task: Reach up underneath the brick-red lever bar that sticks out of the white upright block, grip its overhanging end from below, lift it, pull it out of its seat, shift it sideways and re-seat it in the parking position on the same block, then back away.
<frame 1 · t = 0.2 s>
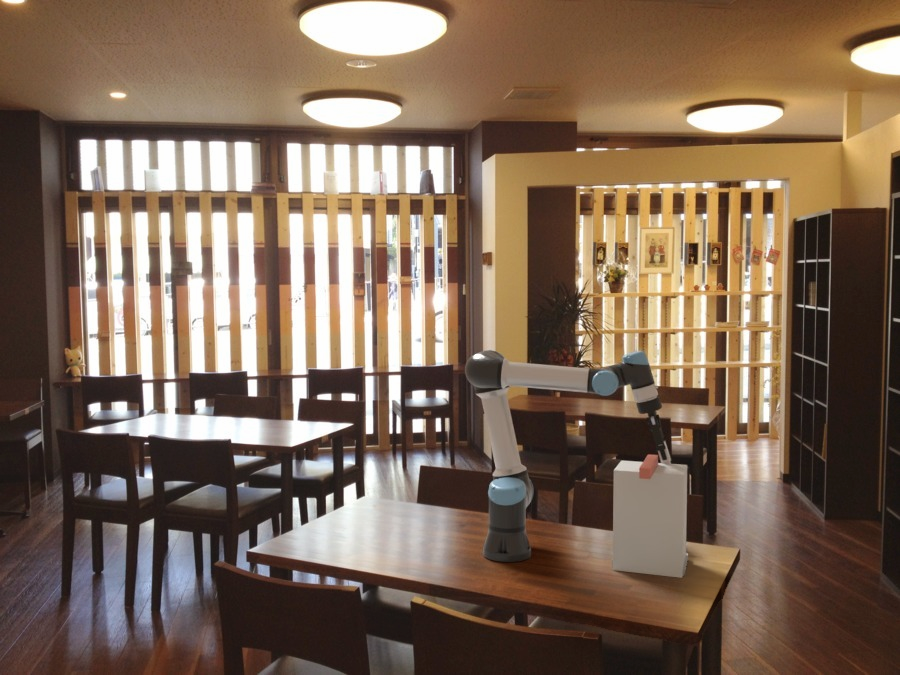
hand: (667, 465, 254), 28 cm above the table, tool tilted 15°, fingers open, 11 cm apart
white upright block: (649, 565, 243), on the table
lever bar: (649, 471, 236), point 30 cm above the table, touching white upright block
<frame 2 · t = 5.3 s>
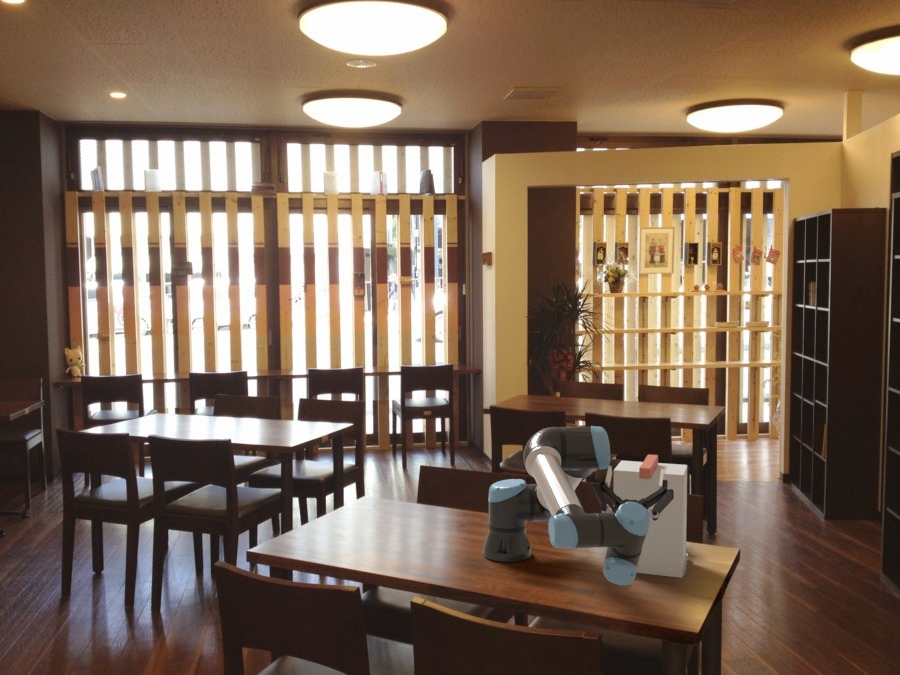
hand: (636, 471, 212), 35 cm above the table, tool pointing upward, fingers open, 13 cm apart
nothing on the table moved.
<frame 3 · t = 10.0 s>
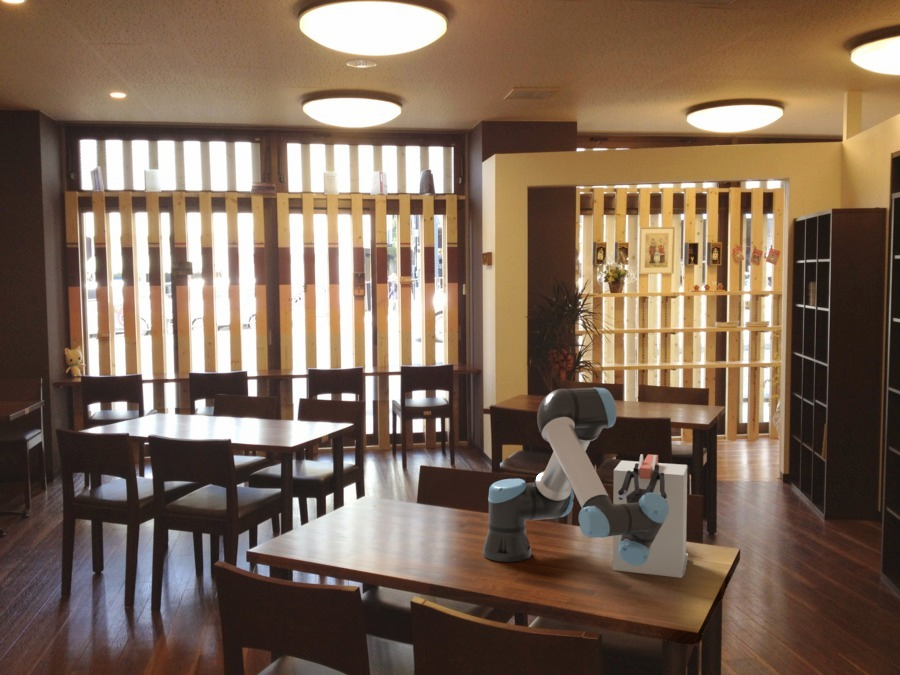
hand: (648, 458, 234), 34 cm above the table, tool pointing upward, fingers closed on lever bar, 3 cm apart
lever bar: (649, 471, 236), point 30 cm above the table, touching gripper, white upright block
everything else where it was.
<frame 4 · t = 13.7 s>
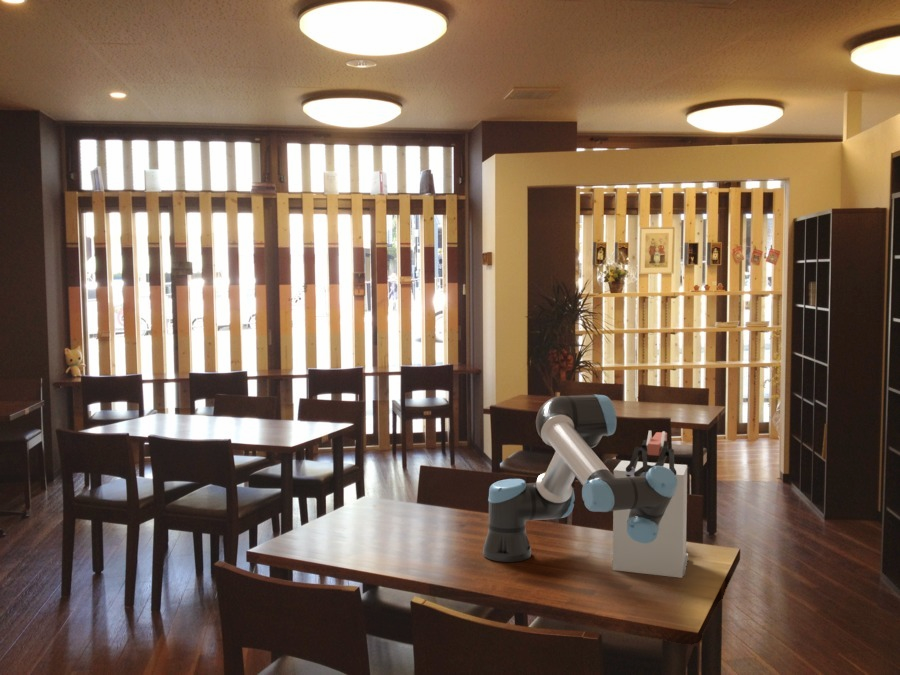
hand: (657, 434, 225), 43 cm above the table, tool pointing upward, fingers closed on lever bar, 3 cm apart
lever bar: (657, 448, 227), point 38 cm above the table, touching gripper
everything else where it was.
when the fingers open (36 cm above the table, at t = 17.7 s): lever bar drops 1 cm, resting on white upright block.
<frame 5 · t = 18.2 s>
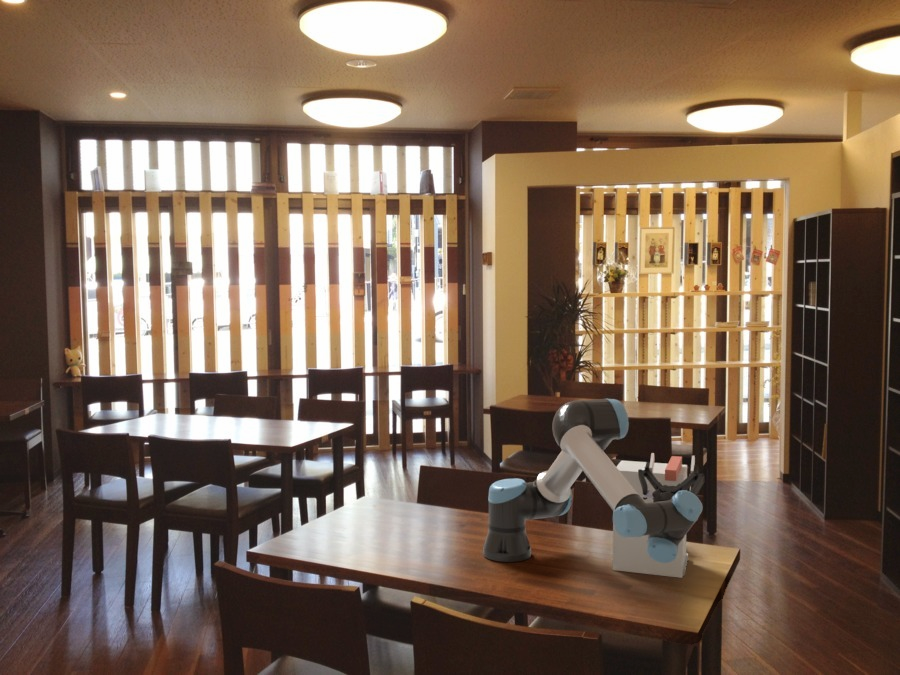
hand: (673, 457, 230), 35 cm above the table, tool pointing upward, fingers open, 10 cm apart
lever bar: (673, 473, 234), point 30 cm above the table, touching white upright block
everything else where it was.
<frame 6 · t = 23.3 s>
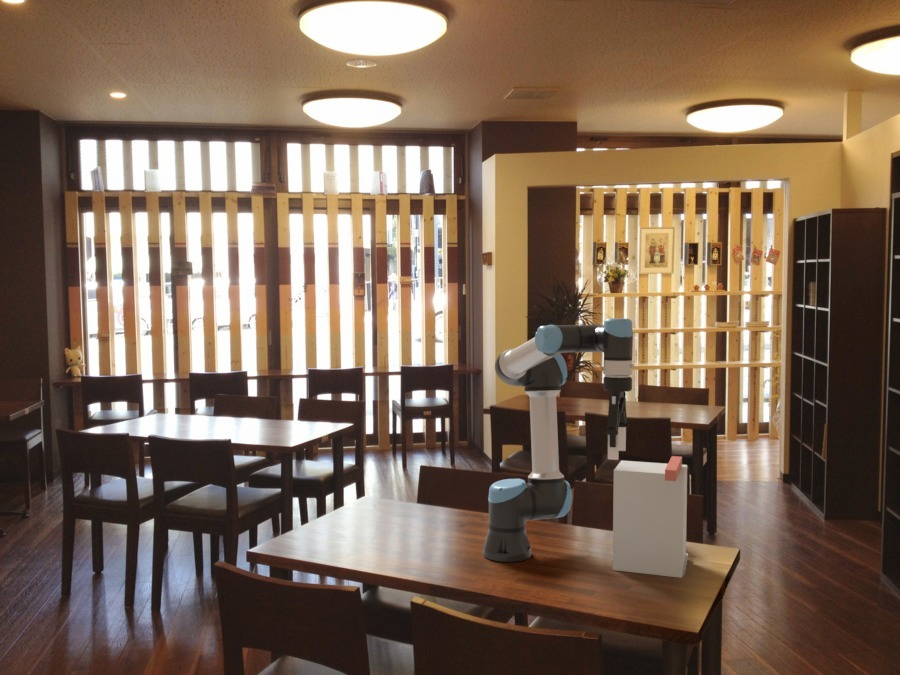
hand: (616, 454, 215), 39 cm above the table, tool pointing down, fingers open, 13 cm apart
nothing on the table moved.
at the end: lever bar 0.1 cm from the target spot, point 30.0 cm above the table; lever bar moved 7.1 cm from its start; the gripper is holding nothing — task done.
